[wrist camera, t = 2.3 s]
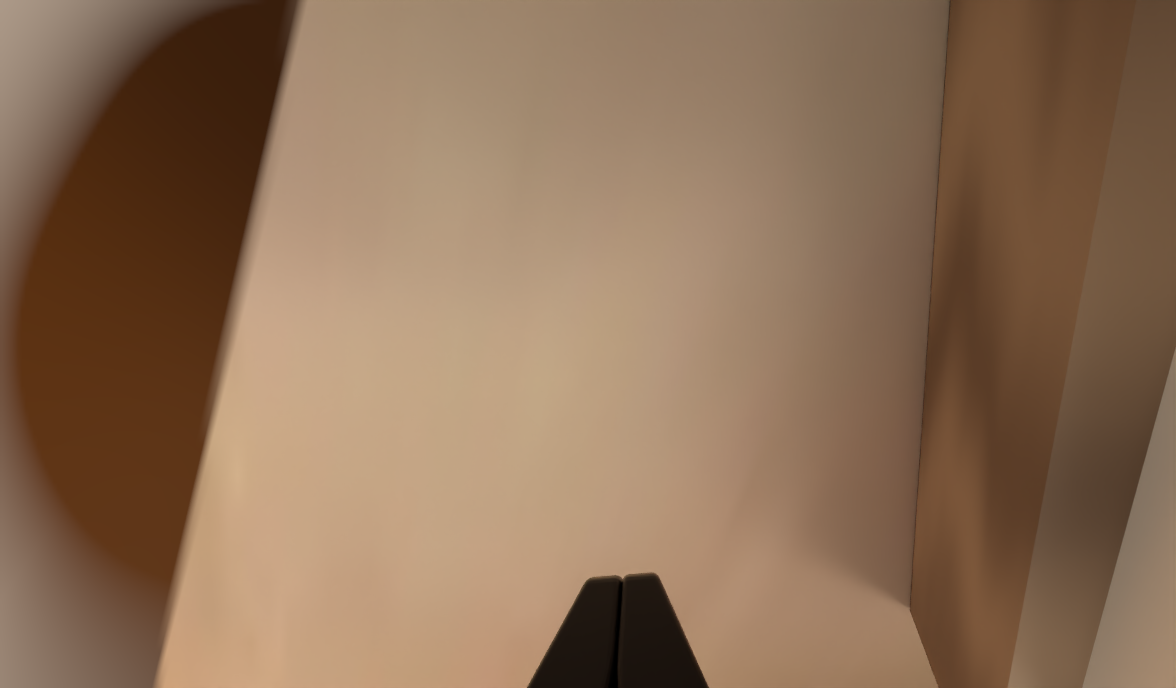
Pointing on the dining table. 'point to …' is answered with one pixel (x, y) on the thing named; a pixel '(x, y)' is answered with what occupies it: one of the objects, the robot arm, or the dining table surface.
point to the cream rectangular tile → (1144, 574)
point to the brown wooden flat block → (1042, 328)
